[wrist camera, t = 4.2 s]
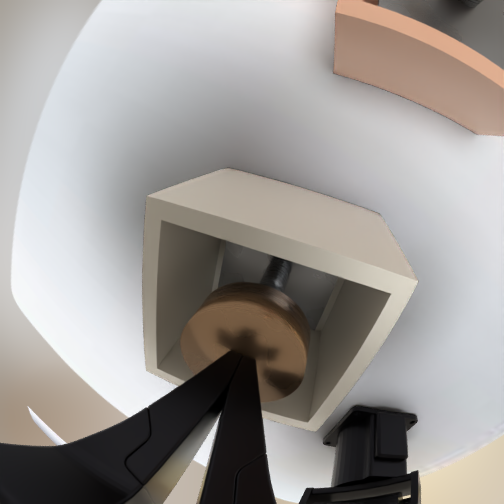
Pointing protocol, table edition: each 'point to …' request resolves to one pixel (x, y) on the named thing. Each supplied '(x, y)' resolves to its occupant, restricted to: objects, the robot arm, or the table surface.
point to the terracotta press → (418, 65)
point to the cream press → (283, 246)
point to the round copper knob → (259, 318)
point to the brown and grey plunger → (460, 22)
